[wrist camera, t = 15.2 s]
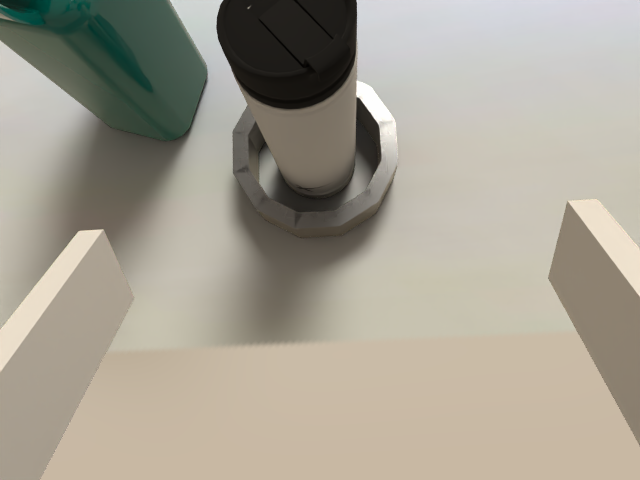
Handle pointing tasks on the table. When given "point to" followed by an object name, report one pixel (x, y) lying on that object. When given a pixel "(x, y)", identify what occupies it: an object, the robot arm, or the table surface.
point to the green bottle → (113, 59)
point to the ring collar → (320, 222)
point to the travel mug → (298, 84)
